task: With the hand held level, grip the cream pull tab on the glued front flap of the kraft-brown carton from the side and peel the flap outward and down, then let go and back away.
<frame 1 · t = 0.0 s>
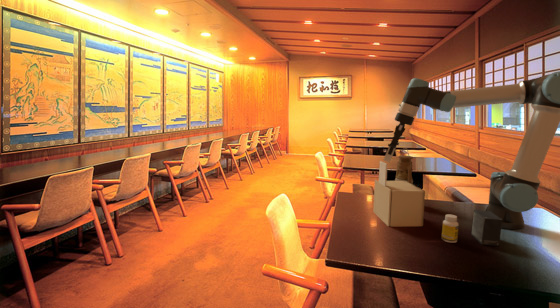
hand: (387, 159, 144), 28 cm above the table, tool tilted 20°, fingers open, 13 cm apart
lantern: (402, 202, 174), on the table
supplement bottle: (449, 240, 123), on the table
front flap: (382, 190, 144), point 14 cm above the table, hinge at 0.0°
carton: (397, 219, 146), on the table
small box: (485, 240, 123), on the table
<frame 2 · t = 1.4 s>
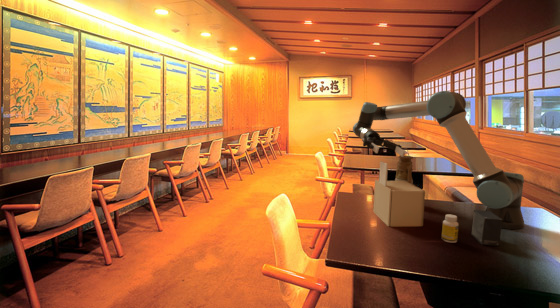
hand: (390, 152, 147), 31 cm above the table, tool horizontal, fingers open, 13 cm apart
front flap: (382, 190, 144), point 14 cm above the table, hinge at -0.5°
everything else where it was.
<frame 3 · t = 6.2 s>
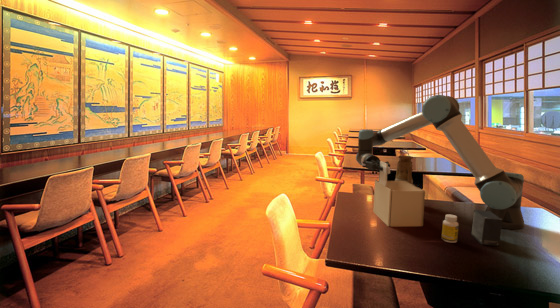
hand: (387, 170, 137), 24 cm above the table, tool horizontal, fingers closed
front flap: (382, 190, 144), point 14 cm above the table, hinge at -0.4°, touching gripper
everything else where it was.
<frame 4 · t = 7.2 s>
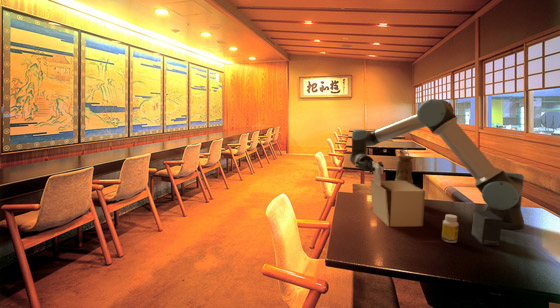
hand: (380, 170, 137), 24 cm above the table, tool horizontal, fingers closed, pressing on front flap
front flap: (378, 191, 144), point 13 cm above the table, hinge at 7.7°, touching gripper
everything else where it was.
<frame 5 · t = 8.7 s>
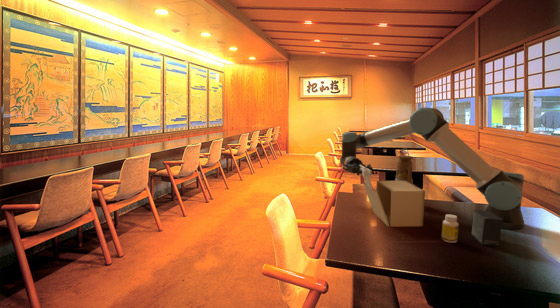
hand: (367, 173, 137), 23 cm above the table, tool horizontal, fingers closed on front flap, 2 cm apart
front flap: (371, 192, 144), point 13 cm above the table, hinge at 21.1°, touching gripper
everything else where it was.
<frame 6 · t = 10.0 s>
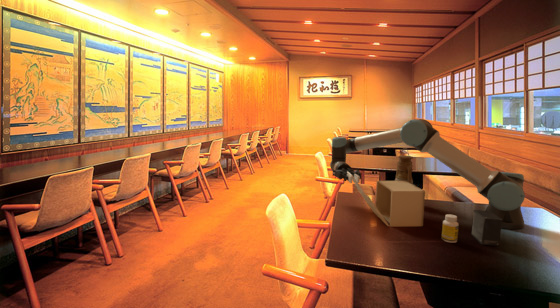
hand: (354, 179, 138), 20 cm above the table, tool horizontal, fingers closed on front flap, 3 cm apart
front flap: (365, 196, 144), point 11 cm above the table, hinge at 35.7°, touching gripper
everything else where it was.
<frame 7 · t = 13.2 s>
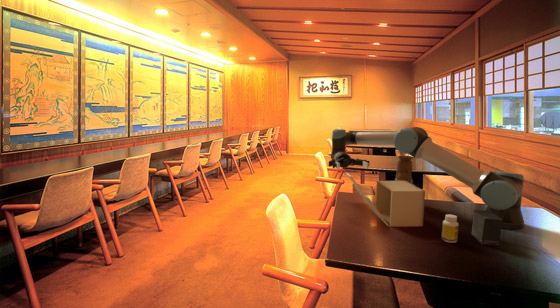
hand: (353, 166, 150), 24 cm above the table, tool horizontal, fingers open, 13 cm apart
front flap: (364, 196, 144), point 11 cm above the table, hinge at 37.1°
everything else where it was.
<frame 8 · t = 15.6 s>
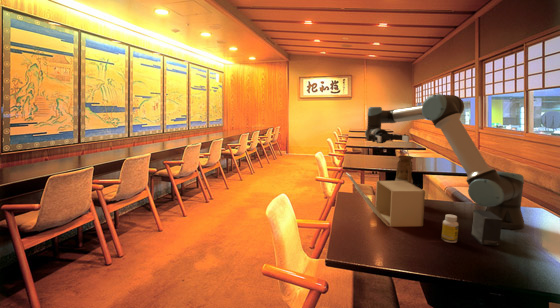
hand: (394, 139, 152), 36 cm above the table, tool horizontal, fingers open, 13 cm apart
nothing on the table moved.
at the end: front flap at +37° (first picture: +0°); the gripper is holding nothing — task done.
